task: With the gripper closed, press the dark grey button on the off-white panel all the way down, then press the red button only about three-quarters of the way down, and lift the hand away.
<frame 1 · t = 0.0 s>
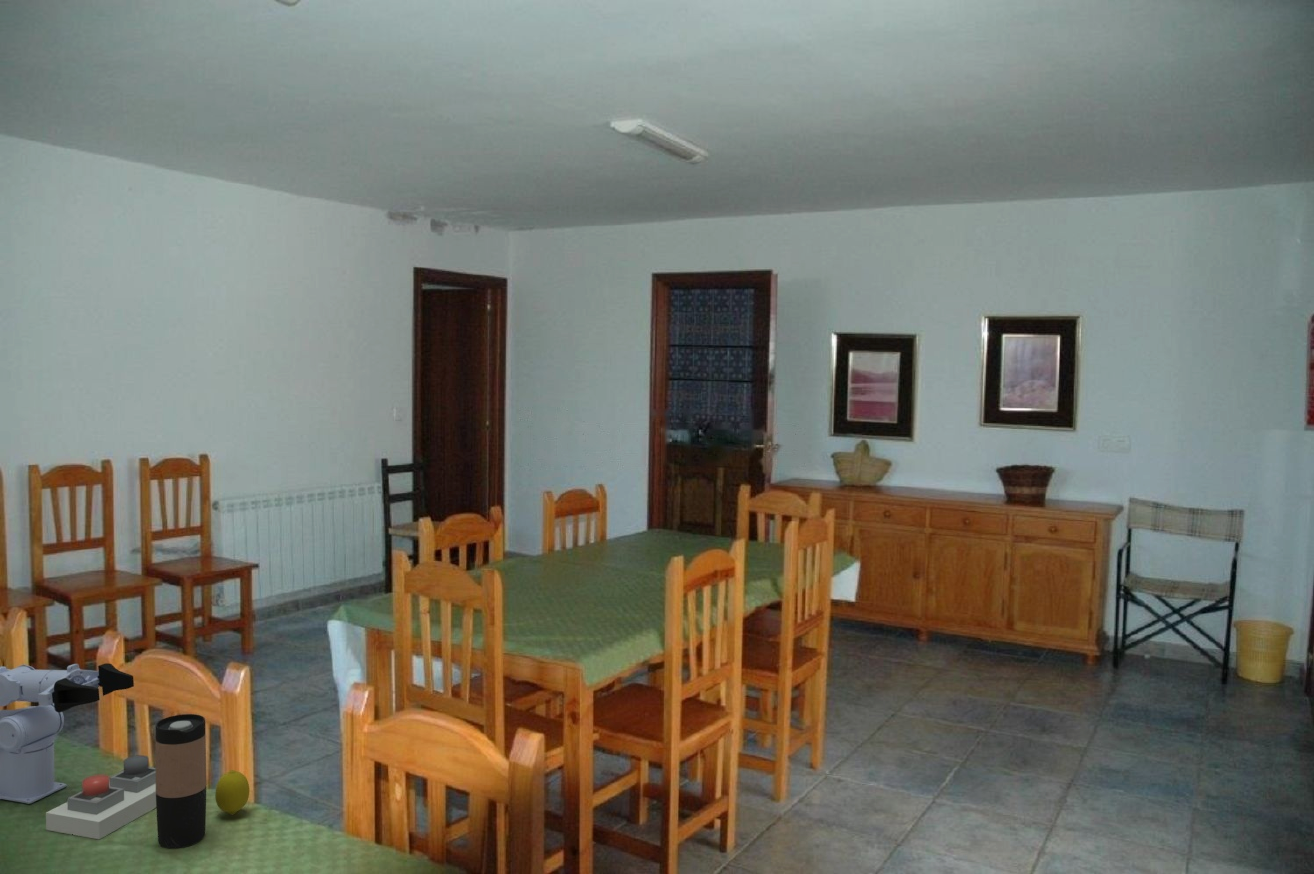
hand: (115, 688, 175), 22 cm above the table, tool horizontal, fingers open, 7 cm apart
travel mug: (181, 839, 166), on the table
grey button: (136, 764, 179), point 6 cm above the table, slide at 0.0 cm
button panel: (117, 810, 175), on the table
lemon: (232, 815, 175), on the table
red button: (95, 784, 171), point 6 cm above the table, slide at 0.0 cm
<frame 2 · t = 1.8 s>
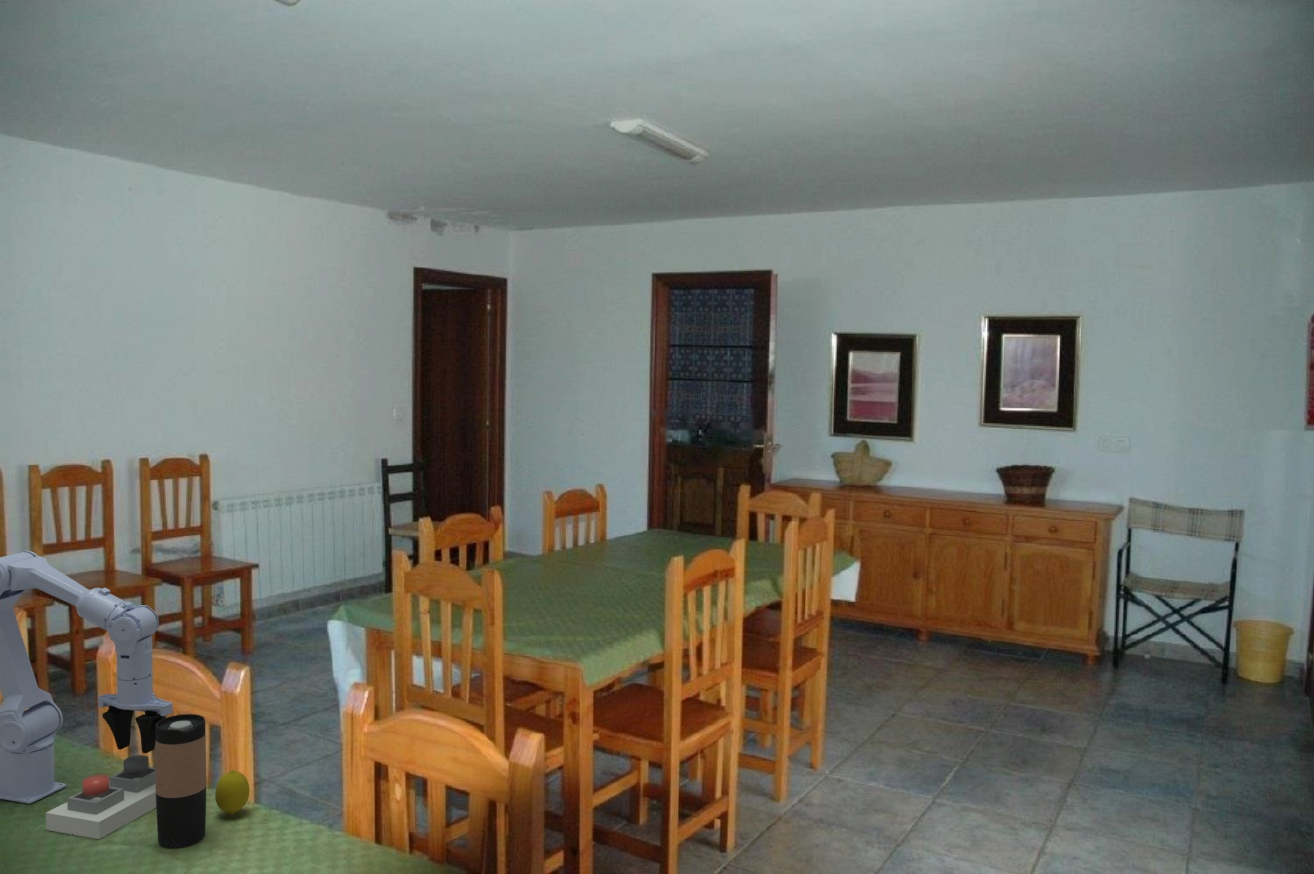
hand: (135, 749, 179), 9 cm above the table, tool pointing down, fingers open, 5 cm apart
nothing on the table moved.
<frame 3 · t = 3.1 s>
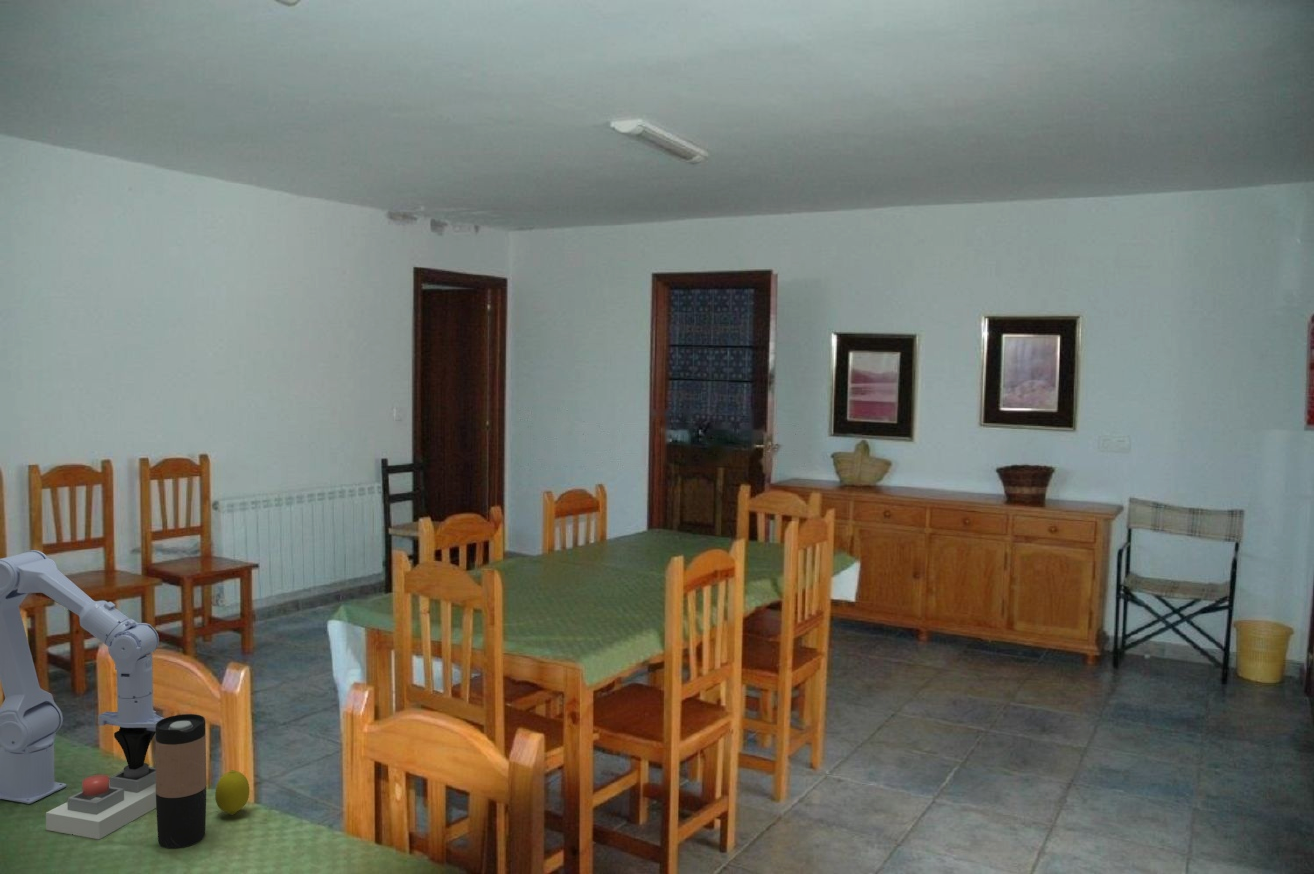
hand: (136, 767, 179), 6 cm above the table, tool pointing down, fingers closed, pressing on grey button
grey button: (136, 772, 179), point 5 cm above the table, slide at 1.4 cm, touching gripper
everything else where it was.
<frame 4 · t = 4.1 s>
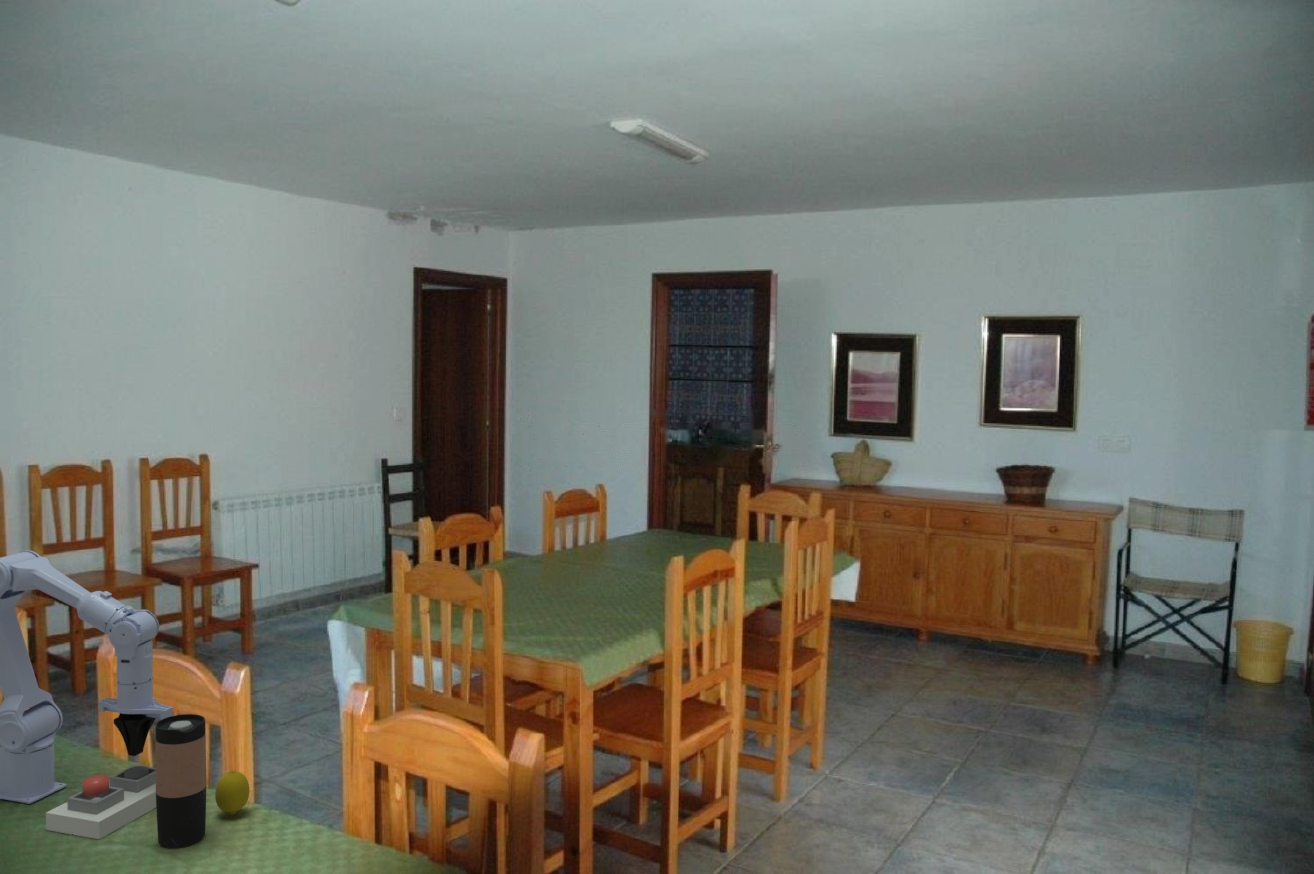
hand: (135, 753, 179), 9 cm above the table, tool pointing down, fingers closed
grey button: (136, 775, 180), point 4 cm above the table, slide at 2.0 cm
everything else where it was.
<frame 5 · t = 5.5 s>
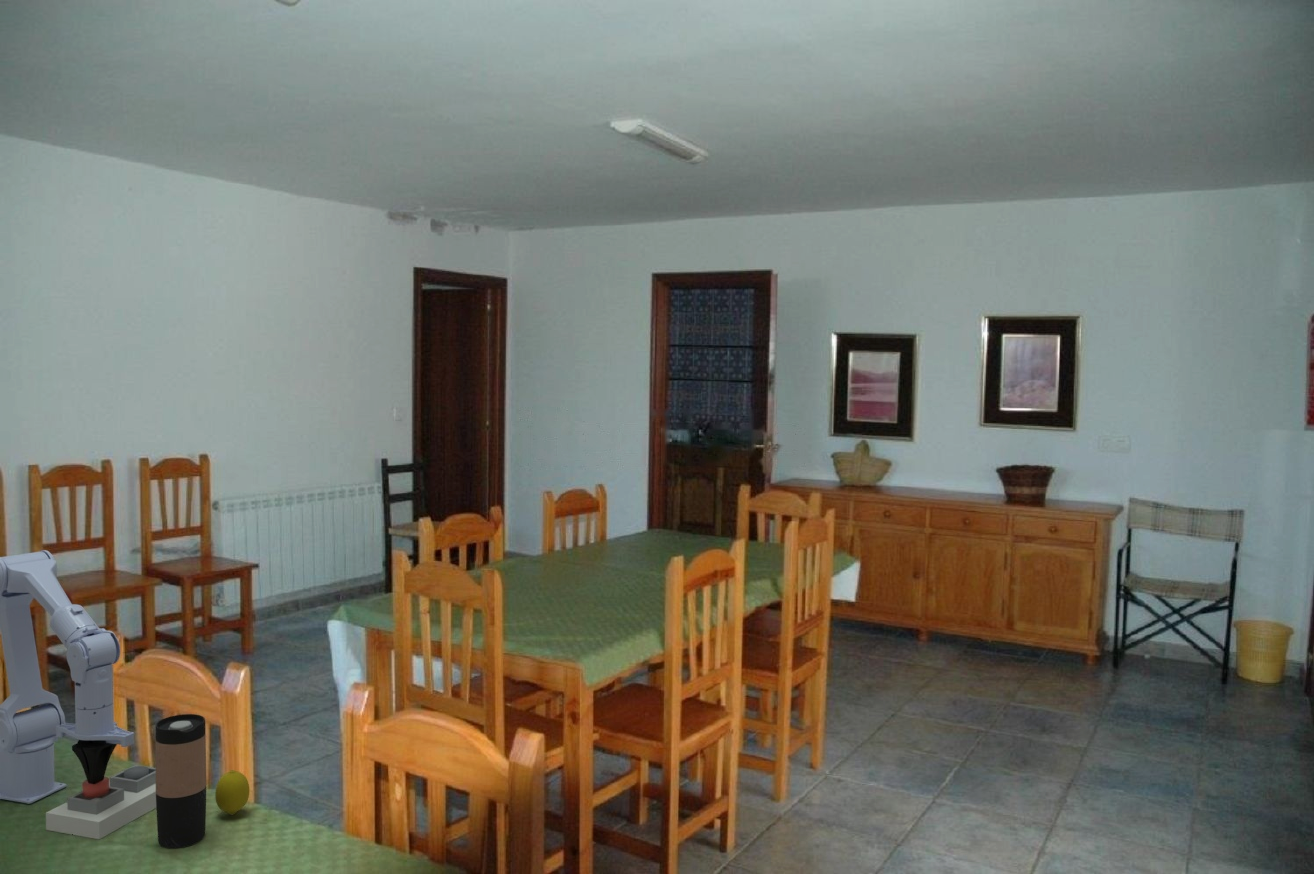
hand: (95, 781, 171), 7 cm above the table, tool pointing down, fingers closed, pressing on red button
red button: (95, 786, 171), point 6 cm above the table, slide at 0.4 cm, touching gripper
everything else where it was.
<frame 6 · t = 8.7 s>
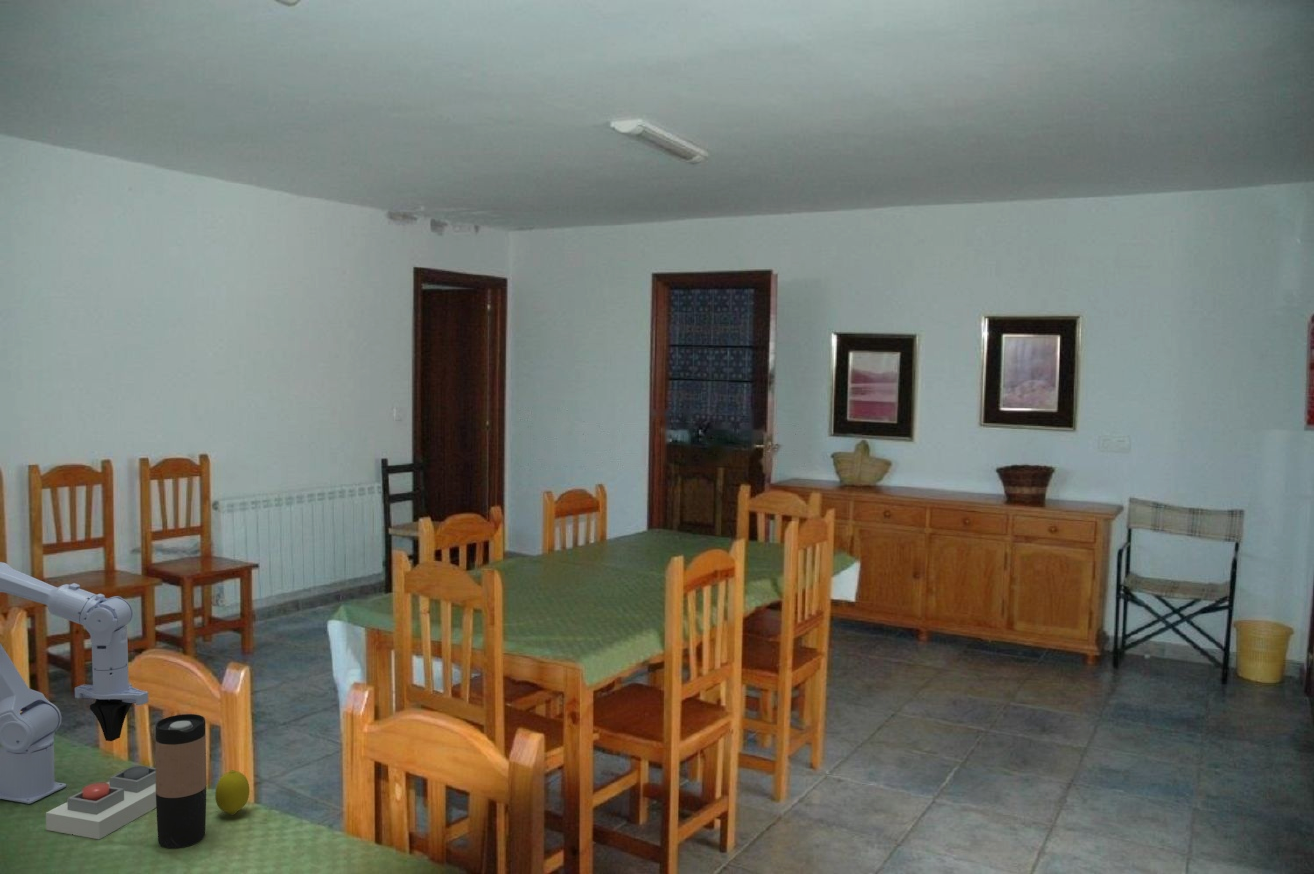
hand: (112, 738, 181), 10 cm above the table, tool pointing down, fingers closed
red button: (96, 793, 171), point 5 cm above the table, slide at 1.4 cm
everything else where it was.
at the end: grey button slide at 2.0 cm; red button slide at 1.4 cm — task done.
